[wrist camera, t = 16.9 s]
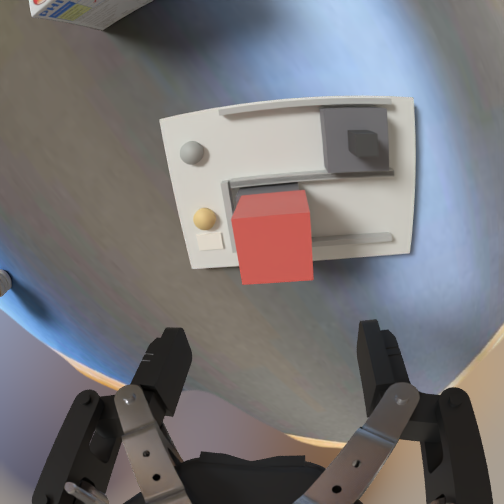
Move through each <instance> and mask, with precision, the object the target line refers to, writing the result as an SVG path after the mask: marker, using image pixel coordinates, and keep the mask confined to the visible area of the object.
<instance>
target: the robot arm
mask: <svg viewBox="0 0 504 504" xmlns="http://www.w3.org/2000/svg"><path fill="white" fill-rule="evenodd" d="M357 359H358V364H359V370H360V375H361V381H362V387H363V393H364V399H365V406H366V412H367V417H369V418H368V420H367V421H366V423H365V424H364V425H363V426H362V427H360V428H359V429H358V430H357V431H356V432H355V433H354V435H353V436H352V437H351V439H350V440H349V441H348V443H347V444H346V445H345V446H344V448H343V449H342V450H341V452H340V453H339V454H338V455H337V457H336V458H335V459H334V460H333V462H332V463H331V464H330V465H329V466H328V467H327V469H325V468H324V467H322V466H320V465H317V464H314V463H311V462H306V461H305V455H304V456H276V457H271V458H266V459H262V460H256V461H248V460H244V459H240V458H237V457H234V456H231V455H227V454H222V453H211V452H201V454H200V458H194V459H190V460H187V461H185V462H184V461H183V459H182V458H181V456H180V455H179V453H178V451H177V449H176V447H175V445H174V443H173V441H172V439H171V437H170V435H169V433H168V431H167V429H166V427H165V424H164V423H163V419H164V416H172V417H173V416H174V413H175V409H176V406H177V403H178V401H179V398H180V395H181V392H182V389H183V386H184V383H185V380H186V377H187V374H188V371H189V368H190V365H191V362H192V352H191V348H190V346H189V343H188V340H187V338H186V335H185V332H184V330H183V328H166V329H165V330H164V332H163V334H162V336H161V338H156V339H155V340H154V341H153V342H152V343H151V344H150V345H149V347H148V349H147V351H146V354H145V355H144V357H143V359H142V361H141V363H140V365H139V367H138V369H137V371H136V373H135V375H134V378H133V380H132V382H131V384H130V385H126V386H124V387H122V388H120V389H119V390H118V391H117V393H116V394H115V395H111V396H102V397H100V396H99V395H98V393H96V392H95V391H94V390H85V391H82V392H81V393H79V394H78V395H77V396H76V398H75V400H74V402H73V404H72V406H71V408H70V410H69V412H68V414H67V416H66V418H65V420H64V423H63V425H62V427H61V429H60V431H59V433H58V436H57V438H56V440H55V442H54V444H53V447H52V449H51V452H50V454H49V456H48V458H47V461H46V463H45V466H44V468H43V471H42V473H41V475H40V478H39V481H38V484H37V486H36V488H35V491H34V494H33V497H32V504H109V500H108V498H107V496H106V495H105V493H106V490H107V486H108V483H109V480H110V476H111V473H112V470H113V467H114V464H115V461H116V458H117V455H118V452H119V449H120V445H121V442H122V441H123V444H124V447H125V450H126V453H127V456H128V459H129V462H130V464H131V467H132V470H133V472H134V475H135V477H136V480H137V482H138V485H139V487H140V490H141V492H140V493H138V494H137V495H135V496H134V497H132V498H131V499H130V500H128V501H126V502H125V503H123V504H363V503H362V502H361V501H360V500H359V499H360V497H361V496H362V495H363V494H364V492H365V491H366V489H367V488H368V487H369V485H370V484H371V482H372V481H373V480H374V478H375V477H376V475H377V473H378V472H379V471H380V469H381V468H382V466H383V465H384V463H385V462H386V460H387V458H388V457H389V455H390V454H391V452H392V451H393V449H394V448H395V446H396V444H397V443H398V441H399V439H403V440H411V441H420V445H421V452H422V460H423V467H424V478H425V489H426V502H427V504H493V499H492V492H491V485H490V479H489V474H488V468H487V463H486V459H485V455H484V450H483V445H482V441H481V437H480V433H479V429H478V425H477V422H476V418H475V415H474V411H473V408H472V405H471V401H470V398H469V396H468V394H467V393H466V392H465V391H463V390H462V389H460V388H456V387H452V388H448V389H446V390H444V391H443V392H442V393H441V395H434V394H425V393H422V392H419V391H418V390H417V389H416V388H415V387H414V386H413V385H411V383H410V381H409V378H408V374H407V371H406V368H405V365H404V361H403V358H402V355H401V352H400V349H399V347H398V343H397V340H396V337H395V336H394V335H393V334H392V333H391V332H390V331H389V330H381V331H380V328H379V324H378V321H377V320H376V319H374V320H365V321H360V323H359V332H358V341H357ZM94 431H95V433H94ZM93 433H94V435H93ZM92 436H93V437H92ZM91 438H92V440H91ZM90 441H91V442H90ZM89 444H90V445H89Z"/></svg>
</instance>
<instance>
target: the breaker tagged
mask: <svg viewBox="0 0 504 504" xmlns="http://www.w3.org/2000/svg"><path fill="white" fill-rule="evenodd" d="M296 190H299V187H298V182H295V183H283V184H272V185H261V186H251V187H242V188H239V190H238V193H237V195H236V202H237V204H238V202H239V199H240V197H241V196H242V195H252V194H262V193H273V192H284V191H296Z"/></svg>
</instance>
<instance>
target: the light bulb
mask: <svg viewBox="0 0 504 504" xmlns="http://www.w3.org/2000/svg"><path fill="white" fill-rule="evenodd" d="M10 288H11V279H10V276H9V275H8V273H7V272H6V271H4V270H2V269H0V297H2V296H3V295H4V293H6V292H7V291H8V290H9V289H10Z"/></svg>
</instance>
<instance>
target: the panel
mask: <svg viewBox="0 0 504 504" xmlns="http://www.w3.org/2000/svg"><path fill="white" fill-rule="evenodd" d="M159 120H160V125H161V131H162V136H163V142H164V147H165V152H166V157H167V162H168V167H169V172H170V177H171V181H172V186H173V191H174V195H175V200H176V204H177V209H178V213H179V217H180V222H181V226H182V230H183V234H184V238H185V242H186V246H187V250H188V254H189V258H190V262H191V266H192V269H199V268H215V267H231V266H239V262H238V256H237V251H236V245H235V239H234V234H233V228H232V222H231V218H232V216H233V213H234V211H235V209H236V206H237V202H236V195H237V193H238V190H239V188H242V187H251V186H261V185H272V184H283V183H295V182H298V187H299V190H305V193H306V197H307V202H308V206H309V211H310V222H311V239H312V259H313V261H318V260H331V259H344V258H357V257H370V256H382V255H394V254H406V253H410V246H411V237H412V226H413V213H414V197H415V164H416V148H415V116H414V100H413V98H412V97H394V96H325V97H306V98H292V99H281V100H271V101H261V102H253V103H245V104H238V105H231V106H225V107H219V108H213V109H207V110H202V111H196V112H191V113H186V114H181V115H177V116H172V117H168V118H163V119H159Z"/></svg>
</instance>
